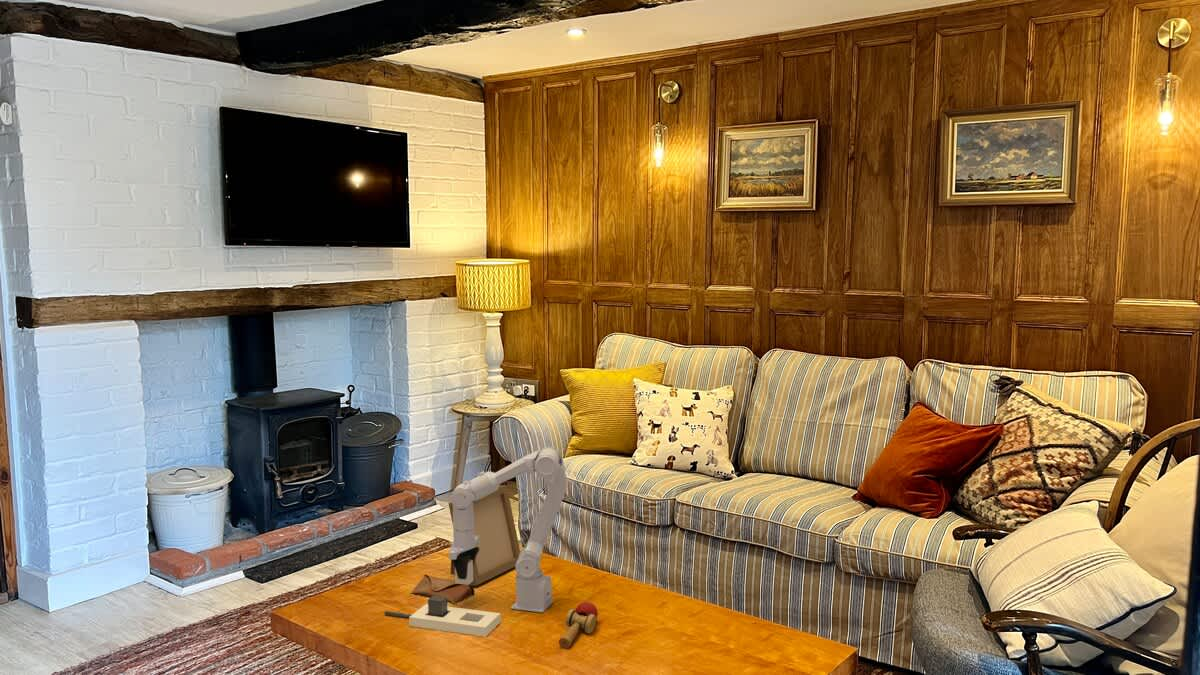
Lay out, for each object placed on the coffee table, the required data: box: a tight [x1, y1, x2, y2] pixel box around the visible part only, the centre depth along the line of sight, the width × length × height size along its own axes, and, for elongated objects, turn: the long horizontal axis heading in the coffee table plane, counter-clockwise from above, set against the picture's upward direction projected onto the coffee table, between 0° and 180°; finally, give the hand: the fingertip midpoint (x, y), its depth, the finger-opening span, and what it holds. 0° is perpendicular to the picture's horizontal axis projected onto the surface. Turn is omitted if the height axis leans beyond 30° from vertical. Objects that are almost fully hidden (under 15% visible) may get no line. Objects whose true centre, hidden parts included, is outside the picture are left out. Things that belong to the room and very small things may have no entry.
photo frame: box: [448, 484, 521, 587], centre depth 267 cm, size 15×22×25 cm
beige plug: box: [454, 560, 473, 585], centre depth 242 cm, size 4×3×6 cm
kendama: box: [558, 601, 599, 649], centre depth 224 cm, size 8×6×18 cm
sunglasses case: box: [409, 574, 475, 605], centre depth 251 cm, size 18×7×7 cm, turn 62°
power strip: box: [384, 595, 502, 638], centre depth 232 cm, size 32×9×6 cm, turn 72°
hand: (465, 576), depth 242 cm, fingers closed on beige plug, 3 cm apart
